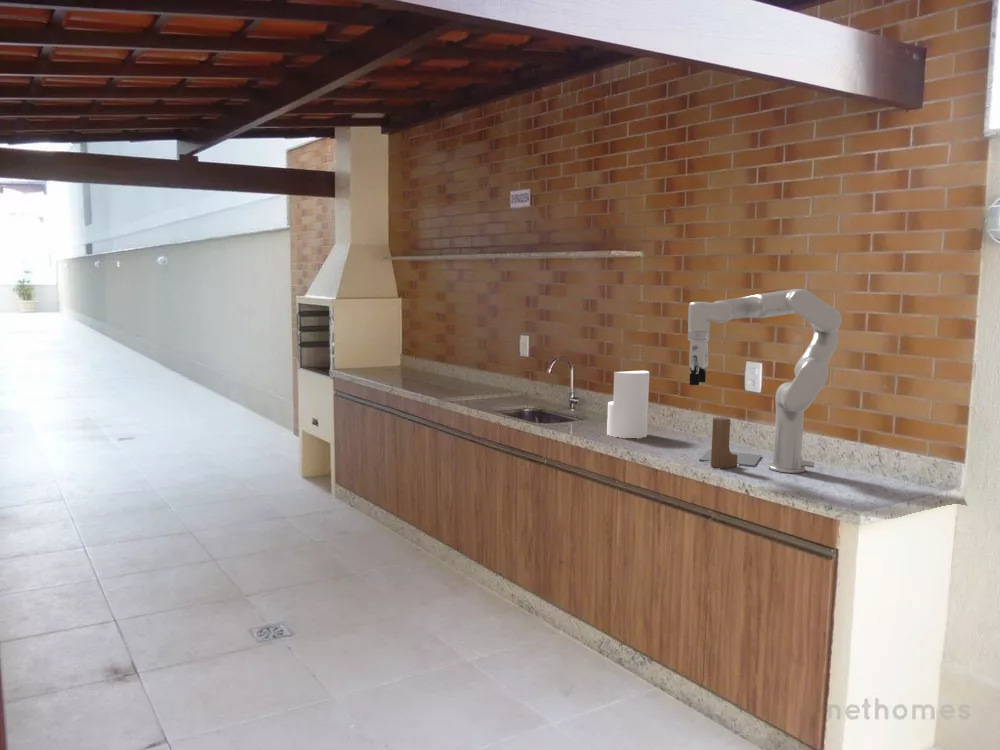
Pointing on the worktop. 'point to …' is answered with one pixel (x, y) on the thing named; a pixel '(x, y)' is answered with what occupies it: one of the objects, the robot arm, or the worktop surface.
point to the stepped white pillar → (629, 405)
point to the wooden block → (721, 444)
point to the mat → (741, 458)
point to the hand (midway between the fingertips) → (697, 383)
